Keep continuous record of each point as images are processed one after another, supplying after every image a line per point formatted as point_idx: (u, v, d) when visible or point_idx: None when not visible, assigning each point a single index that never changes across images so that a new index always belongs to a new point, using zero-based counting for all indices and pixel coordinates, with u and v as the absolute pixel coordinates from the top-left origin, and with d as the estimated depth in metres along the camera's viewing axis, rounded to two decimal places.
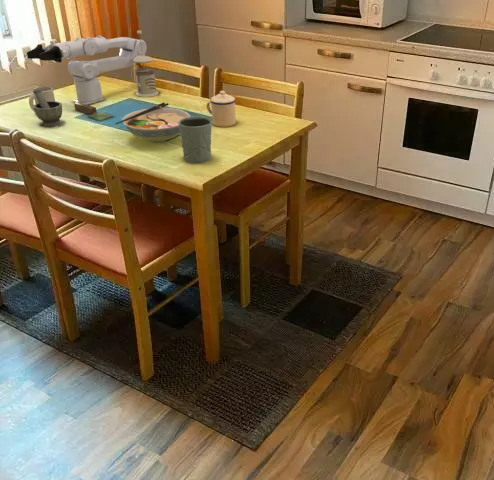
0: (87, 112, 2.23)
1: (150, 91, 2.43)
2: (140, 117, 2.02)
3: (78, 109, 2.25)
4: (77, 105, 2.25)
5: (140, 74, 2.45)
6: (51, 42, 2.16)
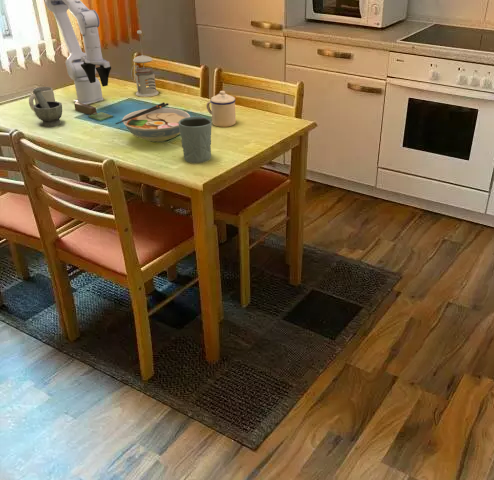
0: (87, 112, 2.23)
1: (150, 91, 2.43)
2: (140, 117, 2.02)
3: (78, 109, 2.25)
4: (77, 105, 2.25)
5: (140, 74, 2.45)
6: None
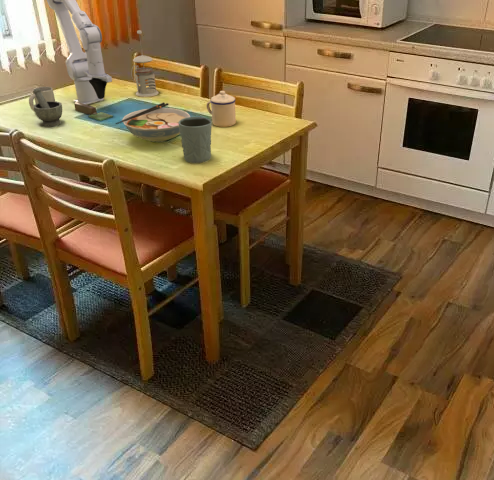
0: (87, 112, 2.23)
1: (150, 91, 2.43)
2: (140, 117, 2.02)
3: (78, 109, 2.25)
4: (77, 105, 2.25)
5: (140, 74, 2.45)
6: None
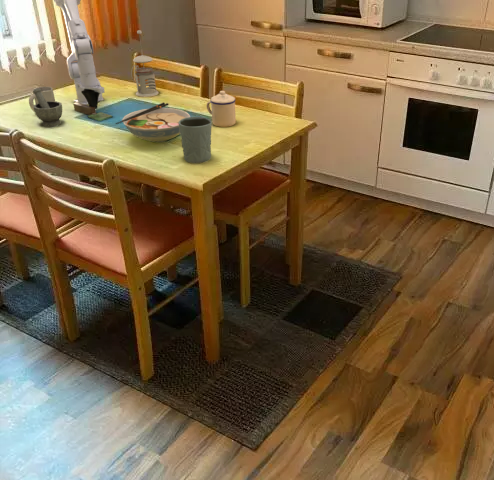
0: (86, 112, 2.22)
1: (150, 91, 2.43)
2: (140, 117, 2.02)
3: (77, 109, 2.25)
4: (76, 105, 2.24)
5: (140, 74, 2.45)
6: None
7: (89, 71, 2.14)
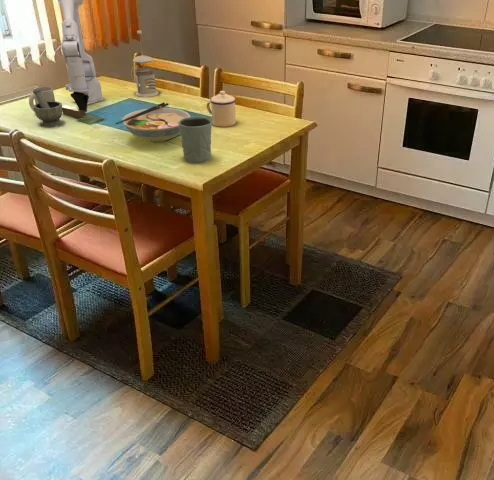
0: (76, 115, 2.19)
1: (150, 91, 2.43)
2: (140, 117, 2.02)
3: (66, 113, 2.22)
4: (65, 109, 2.21)
5: (140, 74, 2.45)
6: None
7: (76, 74, 2.11)
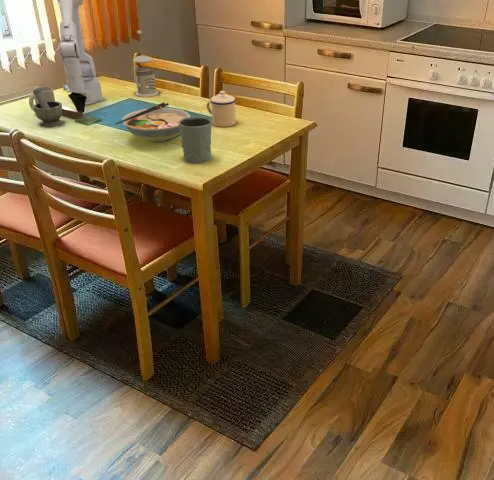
0: (73, 116, 2.18)
1: (150, 91, 2.43)
2: (140, 117, 2.02)
3: (63, 113, 2.21)
4: (62, 109, 2.20)
5: (140, 74, 2.45)
6: None
7: (73, 74, 2.10)
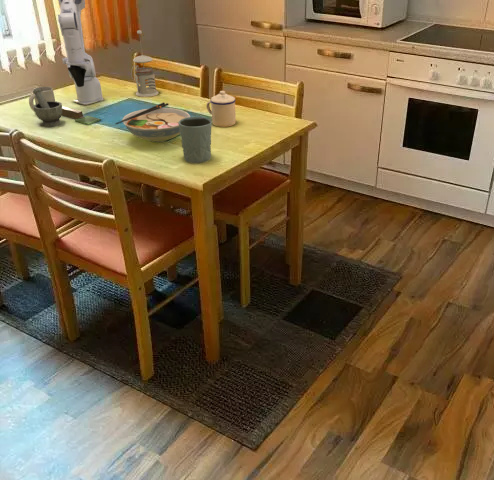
0: (73, 116, 2.18)
1: (150, 91, 2.43)
2: (140, 117, 2.02)
3: (63, 113, 2.21)
4: (62, 109, 2.20)
5: (140, 74, 2.45)
6: None
7: (73, 47, 2.09)
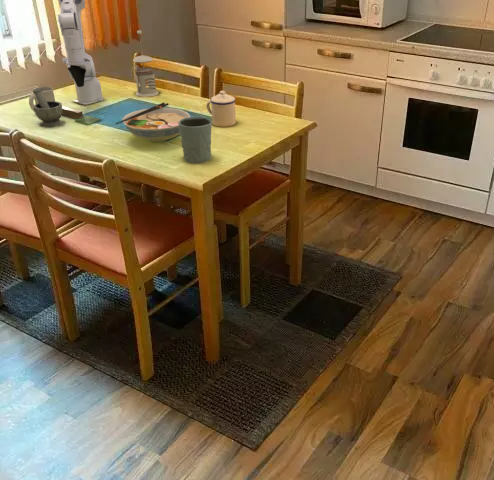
0: (73, 116, 2.18)
1: (150, 91, 2.43)
2: (140, 117, 2.02)
3: (63, 113, 2.21)
4: (62, 109, 2.20)
5: (140, 74, 2.45)
6: None
7: (73, 47, 2.09)
